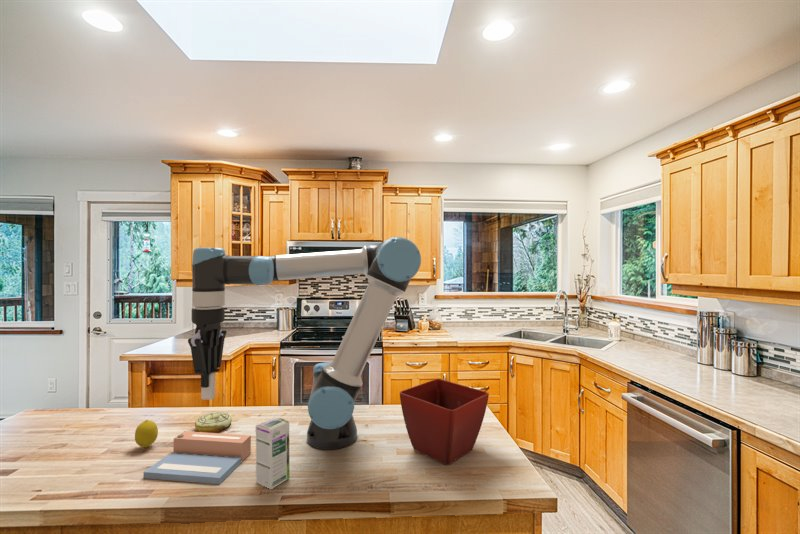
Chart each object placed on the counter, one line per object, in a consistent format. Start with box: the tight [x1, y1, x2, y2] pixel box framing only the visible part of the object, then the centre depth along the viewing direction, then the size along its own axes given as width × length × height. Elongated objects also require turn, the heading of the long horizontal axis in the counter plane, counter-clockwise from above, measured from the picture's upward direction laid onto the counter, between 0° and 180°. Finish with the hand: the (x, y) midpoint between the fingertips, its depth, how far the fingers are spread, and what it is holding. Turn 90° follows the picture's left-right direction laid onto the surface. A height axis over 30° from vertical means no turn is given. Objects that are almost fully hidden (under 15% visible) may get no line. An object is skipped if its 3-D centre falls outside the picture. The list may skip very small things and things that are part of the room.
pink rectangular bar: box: [172, 430, 252, 462], centre depth 105 cm, size 20×4×5 cm, turn 84°
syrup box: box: [255, 416, 290, 490], centre depth 93 cm, size 6×6×14 cm
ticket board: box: [143, 451, 242, 485], centre depth 97 cm, size 20×10×2 cm, turn 84°
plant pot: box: [399, 378, 490, 466], centre depth 109 cm, size 19×19×17 cm
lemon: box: [134, 419, 159, 449], centre depth 108 cm, size 6×6×8 cm
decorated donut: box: [194, 411, 233, 433], centre depth 122 cm, size 10×11×4 cm
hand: (208, 398), depth 98 cm, fingers closed
